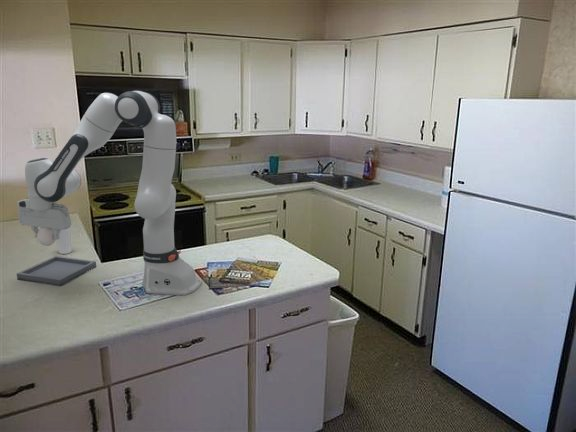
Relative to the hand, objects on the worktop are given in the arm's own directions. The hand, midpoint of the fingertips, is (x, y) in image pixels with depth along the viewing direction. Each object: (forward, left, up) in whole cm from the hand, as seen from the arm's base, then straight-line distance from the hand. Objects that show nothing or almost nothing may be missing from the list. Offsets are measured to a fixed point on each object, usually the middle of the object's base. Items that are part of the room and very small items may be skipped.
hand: (47, 238), depth 164 cm
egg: (0, 0, -3) cm, 3 cm away
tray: (+3, -7, -17) cm, 19 cm away
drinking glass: (+17, -27, -18) cm, 36 cm away
